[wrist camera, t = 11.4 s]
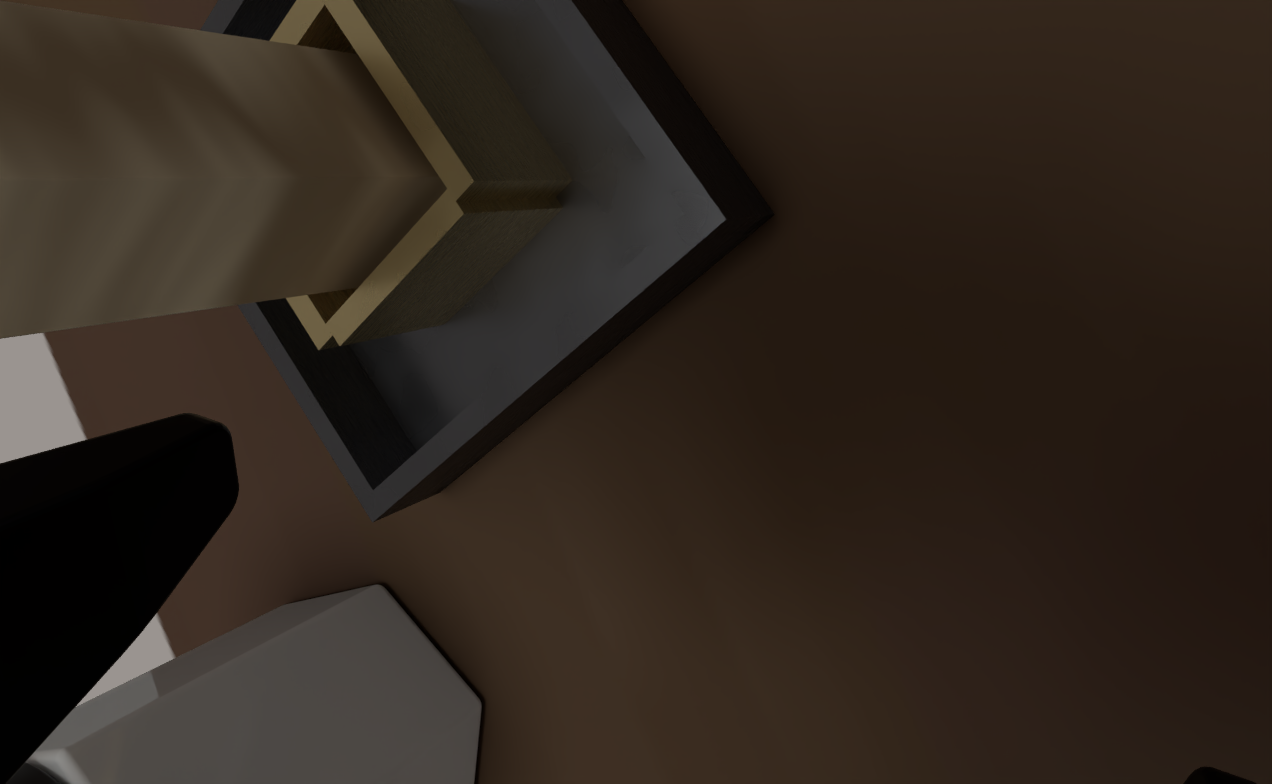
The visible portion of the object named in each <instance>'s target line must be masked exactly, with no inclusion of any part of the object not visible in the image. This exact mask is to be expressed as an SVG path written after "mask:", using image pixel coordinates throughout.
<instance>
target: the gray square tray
mask: <svg viewBox="0 0 1272 784" xmlns="http://www.w3.org/2000/svg"><path fill="white" fill-rule="evenodd" d="M200 31H207V32H213V33H220V34H227V35H234V36H240V37H247V38H254V39H260V40H267V41H274V42H280V43H287V44H294V45H300V46H307V47H314V48H321V49H327V50H334V51H341V52H347V53H354V54H358V55H359V57H360V58H361V60H362V61H363V63H364V64H365V66H366V67H367V69H368V70H369V72H370V73H371V75H372V76H373V78H374V79H375V81H376V82H377V84H378V85H379V87H380V88H381V90H382V91H383V93H384V94H385V96H386V97H387V99H388V100H389V102H390V103H391V105H392V106H393V108H394V109H395V111H396V112H397V114H398V115H399V117H400V118H401V120H402V121H403V123H404V124H405V126H406V127H407V129H408V130H409V132H410V133H411V135H412V136H413V138H414V139H415V141H416V142H417V144H418V145H419V147H420V148H421V150H422V151H423V153H424V154H425V156H426V157H427V159H428V160H429V162H430V163H431V165H432V166H433V168H434V169H435V171H436V172H437V174H438V175H439V177H440V178H441V180H442V181H443V183H444V184H445V186H446V187H447V190H446V191H445V192H444V193H443V194H442V195H441V196H440V198H439V199H438V200H437V201H436V202H435V203H434V204H433V205H432V206H431V208H430V209H429V210H428V211H427V212H426V213H425V214H424V215H423V216H422V218H421V219H420V220H419V221H418V222H417V223H416V224H415V225H414V226H413V227H412V229H411V230H410V231H409V232H408V233H407V234H406V235H405V236H404V237H403V239H402V240H401V241H400V242H399V243H398V244H397V245H396V246H395V247H394V249H393V250H392V251H391V252H390V253H389V254H388V255H387V256H386V257H385V259H384V260H383V261H382V262H381V263H380V264H379V265H378V266H377V267H376V269H375V270H374V271H373V272H372V273H371V274H370V275H369V276H368V277H367V279H366V280H365V281H364V282H363V283H362V284H361V285H360V286H359V287H358V288H352V289H345V290H338V291H331V292H324V293H317V294H310V295H303V296H296V297H289V298H282V299H275V300H268V301H261V302H254V303H247V304H240V305H238V307H239V308H240V310H241V311H242V313H243V315H244V316H245V318H246V319H247V321H248V323H249V324H250V326H251V327H252V329H253V331H254V332H255V334H256V335H257V337H258V339H259V340H260V342H261V344H262V345H263V347H264V348H265V350H266V352H267V353H268V355H269V356H270V358H271V360H272V361H273V363H274V364H275V366H276V368H277V369H278V371H279V373H280V374H281V376H282V377H283V379H284V381H285V382H286V384H287V385H288V387H289V389H290V390H291V392H292V393H293V395H294V397H295V398H296V400H297V402H298V403H299V405H300V406H301V408H302V410H303V411H304V413H305V414H306V416H307V418H308V419H309V421H310V422H311V424H312V426H313V427H314V429H315V431H316V432H317V434H318V435H319V437H320V439H321V440H322V442H323V443H324V445H325V447H326V448H327V450H328V451H329V453H330V455H331V456H332V458H333V460H334V461H335V463H336V464H337V466H338V468H339V469H340V471H341V472H342V474H343V476H344V477H345V479H346V480H347V482H348V484H349V485H350V487H351V489H352V490H353V492H354V493H355V495H356V497H357V498H358V500H359V501H360V503H361V505H362V506H363V508H364V509H365V511H366V513H367V514H368V516H369V518H370V519H371V521H372V522H375V521H377V520H379V519H381V518H384V517H386V516H388V515H390V514H393V513H395V512H397V511H399V510H402V509H404V508H406V507H408V506H411V505H413V504H415V503H417V502H420V501H422V500H424V499H427V498H429V497H431V496H433V495H436V494H438V493H440V492H441V491H442V490H443V489H444V488H446V487H447V486H448V485H449V484H450V483H452V482H453V481H454V480H455V479H457V478H458V477H459V476H460V475H461V474H463V473H464V472H465V471H466V470H467V469H469V468H470V467H471V466H472V465H473V464H475V463H476V462H477V461H478V460H479V459H481V458H482V457H483V456H484V455H485V454H487V453H488V452H489V451H490V450H491V449H493V448H494V447H495V446H496V445H497V444H499V443H500V442H501V441H502V440H503V439H505V438H506V437H507V436H508V435H509V434H511V433H512V432H513V431H514V430H516V429H517V428H518V427H519V426H520V425H522V424H523V423H524V422H525V421H526V420H528V419H529V418H530V417H531V416H532V415H534V414H535V413H536V412H537V411H538V410H540V409H541V408H542V407H543V406H544V405H546V404H547V403H548V402H549V401H550V400H552V399H553V398H554V397H555V396H556V395H558V394H559V393H560V392H561V391H562V390H564V389H565V388H566V387H567V386H568V385H570V384H571V383H572V382H573V381H574V380H576V379H577V378H578V377H579V376H581V375H582V374H583V373H584V372H585V371H587V370H588V369H589V368H590V367H591V366H593V365H594V364H595V363H596V362H597V361H599V360H600V359H601V358H602V357H603V356H605V355H606V354H607V353H608V352H609V351H611V350H612V349H613V348H614V347H615V346H617V345H618V344H619V343H620V342H621V341H623V340H624V339H625V338H626V337H627V336H629V335H630V334H631V333H632V332H633V331H635V330H636V329H637V328H638V327H639V326H641V325H642V324H643V323H644V322H646V321H647V320H648V319H649V318H650V317H652V316H653V315H654V314H655V313H656V312H658V311H659V310H660V309H661V308H662V307H664V306H665V305H666V304H667V303H668V302H670V301H671V300H672V299H673V298H674V297H676V296H677V295H678V294H679V293H680V292H682V291H683V290H684V289H685V288H686V287H688V286H689V285H690V284H691V283H692V282H694V281H695V280H696V279H697V278H698V277H700V276H701V275H702V274H703V273H704V272H706V271H707V270H708V269H709V268H711V267H712V266H713V265H714V264H715V263H717V262H718V261H719V260H720V259H721V258H723V257H724V256H725V255H726V254H727V253H729V252H730V251H731V250H732V249H733V248H735V247H736V246H737V245H738V244H739V243H741V242H742V241H743V240H744V239H745V238H747V237H748V236H749V235H750V234H751V233H753V232H754V231H755V230H756V229H757V228H759V227H760V226H761V225H762V224H763V223H765V222H766V221H767V220H768V219H769V218H771V217H772V216H773V215H774V213H773V211H772V210H771V209H770V207H769V206H768V204H767V203H766V202H765V200H764V199H763V197H762V196H761V195H760V193H759V192H758V190H757V189H756V188H755V186H754V185H753V183H752V182H751V181H750V179H749V178H748V176H747V175H746V174H745V172H744V171H743V169H742V168H741V167H740V165H739V164H738V162H737V161H736V160H735V158H734V157H733V155H732V154H731V153H730V151H729V150H728V148H727V147H726V146H725V144H724V143H723V141H722V140H721V139H720V137H719V136H718V134H717V133H716V132H715V130H714V129H713V127H712V126H711V125H710V123H709V122H708V120H707V119H706V118H705V116H704V115H703V113H702V112H701V111H700V109H699V108H698V106H697V105H696V104H695V102H694V101H693V99H692V98H691V97H690V95H689V94H688V92H687V91H686V90H685V88H684V87H683V85H682V84H681V83H680V81H679V80H678V78H677V77H676V76H675V74H674V73H673V71H672V70H671V69H670V67H669V66H668V65H667V63H666V62H665V60H664V59H663V58H662V56H661V55H660V53H659V52H658V51H657V49H656V48H655V46H654V45H653V44H652V42H651V41H650V39H649V38H648V37H647V35H646V34H645V32H644V31H643V30H642V28H641V27H640V25H639V24H638V23H637V21H636V20H635V18H634V17H633V16H632V14H631V13H630V11H629V10H628V9H627V7H626V6H625V4H624V3H623V2H622V0H218V2H217V4H216V5H215V7H214V8H213V10H212V12H211V13H210V15H209V17H208V18H207V20H206V22H205V23H204V25H203V26H202V28H201V30H200Z"/></svg>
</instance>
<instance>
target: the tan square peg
mask: <svg viewBox="0 0 1272 784" xmlns="http://www.w3.org/2000/svg"><path fill="white" fill-rule="evenodd" d="M446 190H447V187H446V186H445V184H444V183H443V181H442V180H441V178H440V177H439V175H438V174H437V172H436V171H435V169H434V168H433V166H432V165H431V163H430V162H429V160H428V159H427V157H426V156H425V154H424V153H423V151H422V150H421V148H420V147H419V145H418V144H417V142H416V141H415V139H414V138H413V136H412V135H411V133H410V132H409V130H408V129H407V127H406V126H405V124H404V123H403V121H402V120H401V118H400V117H399V115H398V114H397V112H396V111H395V109H394V108H393V106H392V105H391V103H390V102H389V100H388V99H387V97H386V96H385V94H384V93H383V91H382V90H381V88H380V87H379V85H378V84H377V82H376V81H375V79H374V78H373V76H372V75H371V73H370V72H369V70H368V69H367V67H366V66H365V64H364V63H363V61H362V60H361V58H360V57H359V55H358V54H354V53H347V52H341V51H334V50H327V49H321V48H314V47H307V46H300V45H294V44H287V43H280V42H274V41H267V40H260V39H254V38H247V37H240V36H234V35H227V34H220V33H213V32H207V31H200V30H193V29H187V28H180V27H173V26H166V25H160V24H153V23H146V22H140V21H133V20H126V19H120V18H113V17H106V16H99V15H93V14H86V13H79V12H73V11H66V10H59V9H53V8H46V7H39V6H32V5H26V4H19V3H12V2H6V1H0V339H1V338H8V337H15V336H22V335H29V334H35V333H43V332H50V331H57V330H64V329H71V328H78V327H85V326H92V325H99V324H106V323H113V322H120V321H127V320H134V319H141V318H148V317H155V316H162V315H169V314H176V313H183V312H190V311H198V310H205V309H212V308H219V307H226V306H233V305H240V304H247V303H254V302H261V301H268V300H275V299H282V298H289V297H296V296H303V295H310V294H317V293H324V292H331V291H338V290H345V289H352V288H358V287H359V286H360V285H361V284H362V283H363V282H364V281H365V280H366V279H367V277H368V276H369V275H370V274H371V273H372V272H373V271H374V270H375V269H376V267H377V266H378V265H379V264H380V263H381V262H382V261H383V260H384V259H385V257H386V256H387V255H388V254H389V253H390V252H391V251H392V250H393V249H394V247H395V246H396V245H397V244H398V243H399V242H400V241H401V240H402V239H403V237H404V236H405V235H406V234H407V233H408V232H409V231H410V230H411V229H412V227H413V226H414V225H415V224H416V223H417V222H418V221H419V220H420V219H421V218H422V216H423V215H424V214H425V213H426V212H427V211H428V210H429V209H430V208H431V206H432V205H433V204H434V203H435V202H436V201H437V200H438V199H439V198H440V196H441V195H442V194H443V193H444V192H445V191H446Z"/></svg>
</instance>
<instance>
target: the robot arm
mask: <svg viewBox="0 0 1272 784" xmlns="http://www.w3.org/2000/svg"><path fill="white" fill-rule="evenodd" d="M238 492H239V483H238V476H237V469H236V463H235V456H234V449H233V443H232V437H231V433H230V431H229V430H228V428H227V427H226V426H225V425H223V424H222V423H220V422H217V421H214V420H211V419H208V418H206V417H203V416H200V415H197V414H192V413H183V414H179V415H175V416H171V417H168V418H164V419H160V420H157V421H153V422H150V423H146V424H142V425H139V426H135V427H131V428H128V429H124V430H120V431H117V432H113V433H110V434H106V435H102V436H99V437H95V438H91V439H88V440H85V441H81V442H77V443H73V444H70V445H66V446H63V447H59V448H55V449H52V450H48V451H44V452H41V453H37V454H33V455H30V456H26V457H23V458H19V459H15V460H12V461H8V462H5V463H1V464H0V784H6V783H7V782H8V781H9V780H10V779H11V778H12V777H13V775H14V774H15V773H16V772H17V771H18V770H19V769H20V768H21V767H22V765H23V764H24V763H25V762H26V761H27V760H28V759H29V758H30V757H31V755H32V754H33V753H34V752H35V751H36V750H37V749H38V748H39V747H40V745H41V744H42V743H43V742H44V741H45V740H46V739H47V738H48V737H49V736H50V734H51V733H52V732H53V731H54V730H55V729H56V728H57V727H58V726H59V724H60V723H61V722H62V721H63V720H64V719H65V718H66V717H67V716H68V714H69V713H70V712H71V711H72V710H73V709H74V708H75V707H76V706H77V704H78V703H79V702H80V701H81V700H82V699H83V698H84V697H85V696H86V694H87V693H88V692H89V691H90V690H91V689H92V688H93V687H94V686H95V684H96V683H97V682H98V681H99V680H100V679H101V678H102V677H103V675H104V674H105V673H106V672H107V671H108V670H109V669H110V667H112V666H113V664H114V663H115V662H116V661H117V660H118V659H119V658H120V657H121V656H122V654H123V653H124V652H125V651H126V650H127V649H128V647H129V646H130V645H131V644H132V643H133V642H134V641H135V639H136V638H137V637H138V636H139V635H140V633H141V632H142V631H143V630H144V628H145V627H146V626H147V625H148V623H149V622H150V621H151V620H152V618H153V617H154V616H155V614H156V613H157V612H158V611H159V609H160V608H161V606H162V605H163V604H164V602H165V601H166V600H167V598H168V597H169V596H170V594H171V593H172V592H173V590H174V589H175V587H176V586H177V585H178V583H179V582H180V581H181V579H182V578H183V577H184V575H185V574H186V573H187V571H188V570H189V569H190V567H191V566H192V564H193V563H194V562H195V560H196V559H197V558H198V556H199V555H200V554H201V552H202V551H203V550H204V548H205V547H206V545H207V544H208V543H209V541H210V540H211V539H212V537H213V536H214V535H215V533H216V532H217V531H218V529H219V528H220V526H221V525H222V524H223V522H224V521H225V520H226V518H227V517H228V516H229V514H230V513H231V511H232V509H233V508H234V505H235V503H236V501H237V497H238ZM1184 784H1256V783H1254V782H1252V781H1250V780H1247V779H1244V778H1241V777H1238V776H1235V775H1232V774H1230V773H1227V772H1224V771H1221V770H1218V769H1215V768H1212V767H1200V768H1198V769H1196V770H1195V771H1194V772H1193V773H1192V774H1191V775H1190V776H1189V777H1188V778H1187V780H1186V781H1185V782H1184Z"/></svg>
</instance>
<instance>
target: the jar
mask: <svg viewBox="0 0 1272 784" xmlns="http://www.w3.org/2000/svg"><path fill="white" fill-rule="evenodd" d="M481 710H482V703H481V701H480V699H479V698H478V697H477V695H476V694H475V693H474V692H473V691H472V689H471V688H470V687H469V686H468V685H467V684H466V682H465V681H464V680H463V679H462V678H461V677H460V675H459V674H458V673H457V672H456V671H455V669H454V668H453V667H452V666H451V665H450V664H449V662H448V661H447V660H446V659H445V658H444V657H443V655H442V654H441V653H440V652H439V651H438V649H437V648H436V647H435V646H434V645H433V644H432V642H431V641H430V640H429V639H428V638H427V636H426V635H425V634H424V633H423V632H422V631H421V629H420V628H419V627H418V626H417V625H416V624H415V622H414V621H413V620H412V619H411V618H410V616H409V615H408V614H407V613H406V612H405V611H404V609H403V608H402V607H401V606H400V605H399V604H398V602H397V601H396V600H395V599H394V598H393V596H392V595H391V594H390V593H389V592H388V591H387V589H386V588H385V587H383V586H382V585H378V584H376V585H371V586H367V587H362V588H358V589H353V590H349V591H344V592H340V593H335V594H331V595H326V596H322V597H317V598H313V599H308V600H304V601H299V602H294V603H290V604H285V605H282V606H280V607H278V608H276V609H274V610H272V611H270V612H268V613H266V614H264V615H262V616H260V617H258V618H256V619H254V620H252V621H250V622H248V623H246V624H244V625H242V626H240V627H238V628H235V629H233V630H231V631H229V632H227V633H225V634H223V635H221V636H219V637H217V638H215V639H213V640H211V641H209V642H207V643H205V644H203V645H201V646H199V647H197V648H195V649H193V650H191V651H189V652H187V653H185V654H183V655H181V656H179V657H177V658H175V659H173V660H171V661H169V662H166V663H164V664H162V665H160V666H159V667H156V668H154V669H152V670H150V671H148V672H146V673H144V674H142V675H140V676H138V677H136V678H134V679H132V680H130V681H128V682H126V683H124V684H122V685H120V686H118V687H116V688H114V689H112V690H110V691H108V692H106V693H104V694H102V695H99V696H97V697H95V698H93V699H91V700H89V701H87V702H85V703H83V704H81V705H79V706H77V707H75V708H74V709H73V710H72V711H71V712H70V713H69V714H68V716H67V717H66V718H65V719H64V720H63V721H62V722H61V723H60V724H59V726H58V727H57V728H56V729H55V730H54V731H53V732H52V733H51V734H50V736H49V737H48V738H47V739H46V740H45V741H44V742H43V743H42V744H41V745H40V747H39V748H38V749H37V750H36V751H35V752H34V753H33V754H32V755H31V757H30V758H29V759H28V760H27V761H26V762H25V763H24V764H23V765H22V767H21V768H20V769H19V770H18V771H17V772H16V773H15V774H14V775H13V777H12V778H11V779H10V780H9V781H8V782H7V783H6V784H474V782H475V772H476V761H477V751H478V740H479V730H480V720H481Z"/></svg>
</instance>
